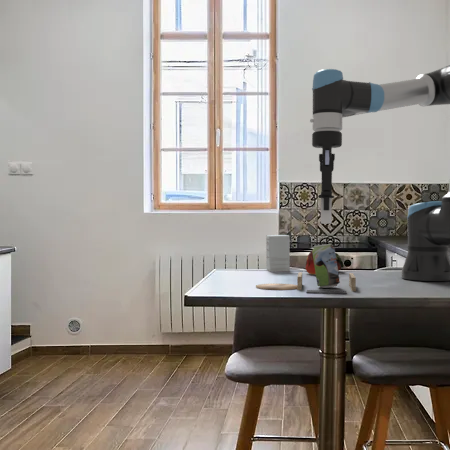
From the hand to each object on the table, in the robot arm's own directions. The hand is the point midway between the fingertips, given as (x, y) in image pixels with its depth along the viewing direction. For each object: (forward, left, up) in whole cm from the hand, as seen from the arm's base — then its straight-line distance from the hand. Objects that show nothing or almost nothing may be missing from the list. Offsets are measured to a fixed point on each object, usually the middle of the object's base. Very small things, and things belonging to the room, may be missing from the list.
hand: (326, 223), depth 151 cm
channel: (0, -8, -18) cm, 19 cm away
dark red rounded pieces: (-6, -50, -19) cm, 53 cm away
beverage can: (0, -8, -18) cm, 20 cm away
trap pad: (0, +2, -18) cm, 18 cm away
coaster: (+13, -7, -18) cm, 23 cm away
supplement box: (+16, -53, -18) cm, 58 cm away
